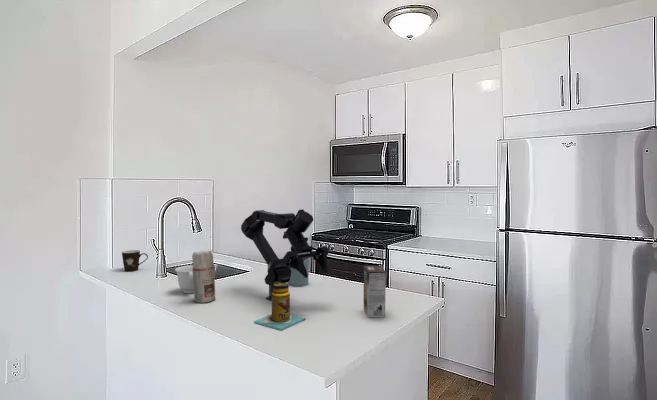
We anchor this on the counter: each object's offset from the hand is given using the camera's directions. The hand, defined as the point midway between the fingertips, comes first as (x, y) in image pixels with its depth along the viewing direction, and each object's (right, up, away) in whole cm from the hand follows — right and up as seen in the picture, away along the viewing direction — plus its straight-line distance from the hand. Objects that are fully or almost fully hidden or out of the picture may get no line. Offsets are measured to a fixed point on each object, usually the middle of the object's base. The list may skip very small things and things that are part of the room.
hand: (317, 275), depth 140 cm
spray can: (-45, -13, +16) cm, 49 cm away
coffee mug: (-98, -11, +67) cm, 119 cm away
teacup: (-54, -13, +27) cm, 62 cm away
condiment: (-13, -14, -8) cm, 20 cm away
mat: (-12, -14, -8) cm, 20 cm away
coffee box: (+20, -14, +1) cm, 24 cm away
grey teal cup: (-10, -12, +40) cm, 43 cm away
